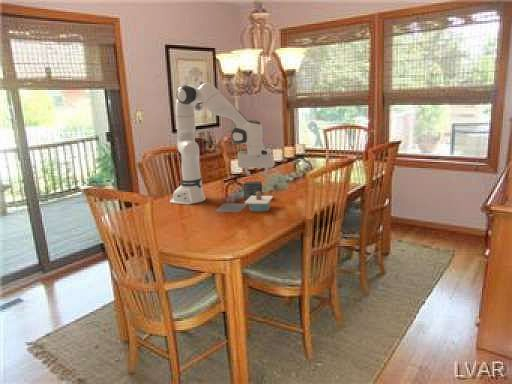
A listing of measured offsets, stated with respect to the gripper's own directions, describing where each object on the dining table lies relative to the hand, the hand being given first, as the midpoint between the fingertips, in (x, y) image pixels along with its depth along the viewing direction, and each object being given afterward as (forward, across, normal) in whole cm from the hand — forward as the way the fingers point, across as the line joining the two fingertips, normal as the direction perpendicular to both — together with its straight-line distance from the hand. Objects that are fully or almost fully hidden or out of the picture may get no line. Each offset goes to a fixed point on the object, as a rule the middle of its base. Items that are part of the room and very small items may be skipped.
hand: (256, 175), depth 219 cm
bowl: (+20, +1, +1) cm, 20 cm away
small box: (+20, -8, +20) cm, 29 cm away
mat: (+20, -16, 0) cm, 26 cm away
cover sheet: (+15, 0, +1) cm, 15 cm away
